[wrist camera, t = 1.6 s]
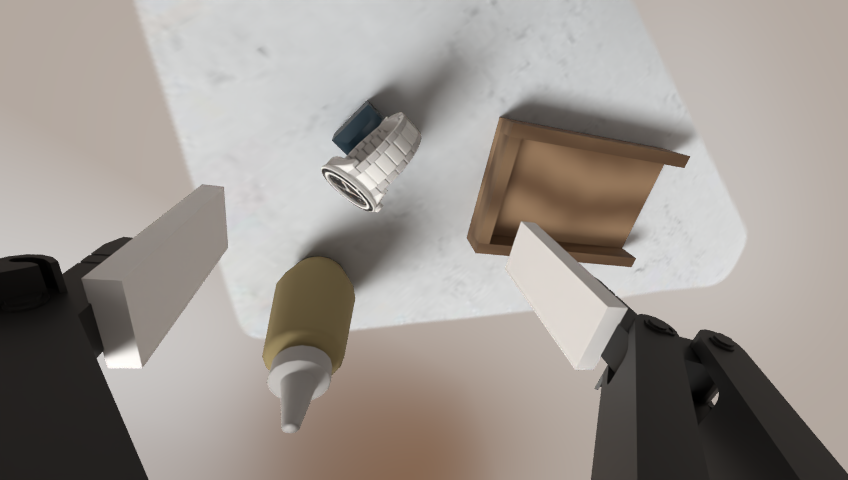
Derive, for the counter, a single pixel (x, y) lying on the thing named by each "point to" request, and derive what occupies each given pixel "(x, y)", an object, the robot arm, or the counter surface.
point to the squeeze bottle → (307, 334)
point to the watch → (371, 155)
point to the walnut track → (565, 190)
